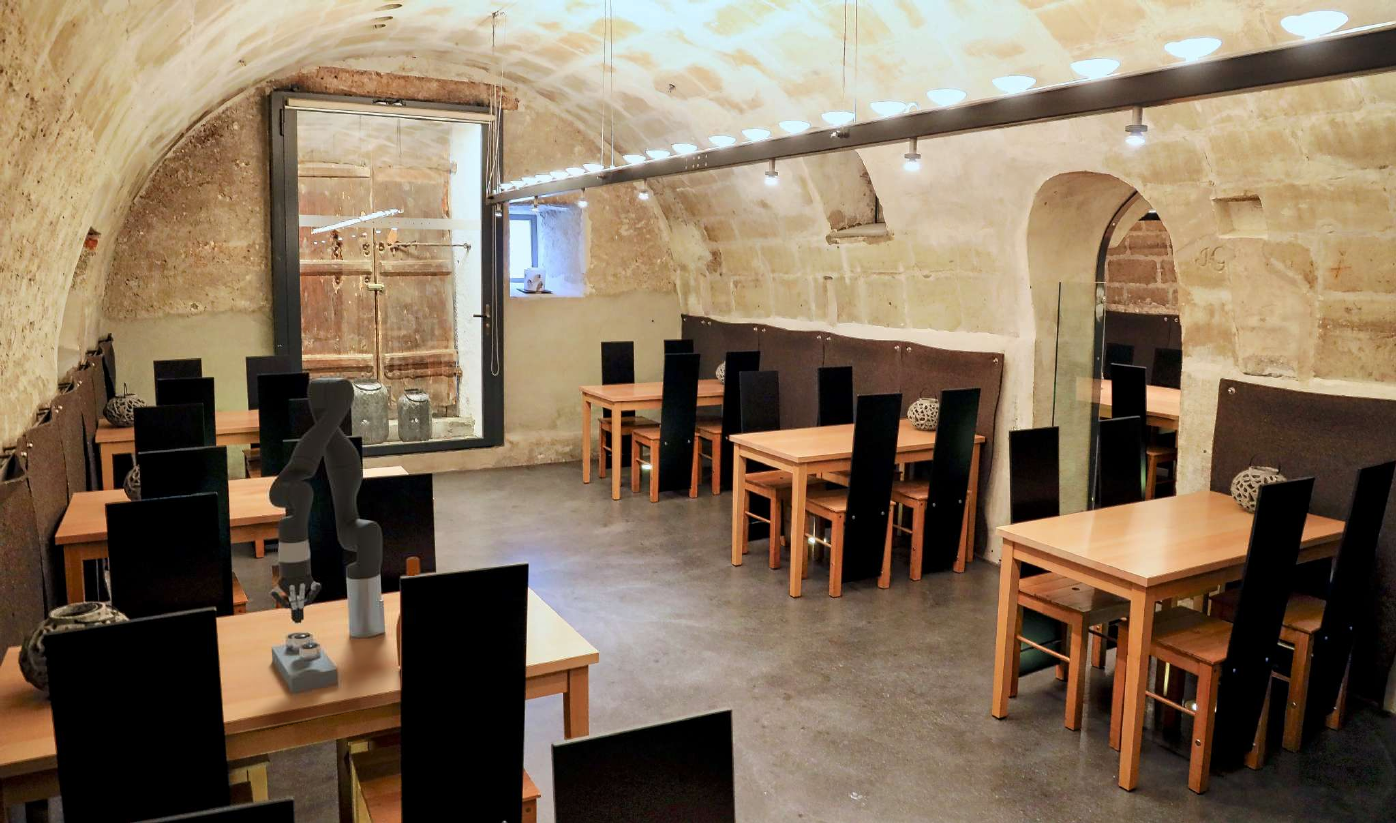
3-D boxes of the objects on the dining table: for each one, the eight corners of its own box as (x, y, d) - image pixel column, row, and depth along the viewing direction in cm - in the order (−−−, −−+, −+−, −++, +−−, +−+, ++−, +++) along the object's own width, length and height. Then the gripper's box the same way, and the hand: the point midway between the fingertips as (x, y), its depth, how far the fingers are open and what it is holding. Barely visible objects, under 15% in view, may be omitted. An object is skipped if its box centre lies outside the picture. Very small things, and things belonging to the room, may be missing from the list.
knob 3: (318, 652, 263) (317, 640, 262) (323, 658, 259) (322, 646, 258) (297, 656, 260) (297, 644, 260) (302, 663, 256) (301, 650, 256)
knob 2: (310, 642, 270) (310, 630, 269) (315, 648, 266) (314, 636, 265) (290, 646, 267) (289, 634, 267) (294, 652, 263) (294, 640, 263)
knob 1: (304, 642, 277) (303, 630, 277) (308, 647, 273) (307, 636, 273) (284, 645, 275) (283, 634, 274) (288, 651, 271) (287, 640, 270)
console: (315, 652, 281) (314, 638, 280) (338, 683, 260) (337, 668, 259) (272, 661, 275) (271, 647, 274) (292, 693, 254) (291, 678, 254)
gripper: (318, 550, 270) (321, 614, 273) (264, 557, 264) (267, 622, 266) (324, 557, 264) (327, 622, 266) (269, 564, 257) (272, 631, 259)
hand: (297, 622), depth 266 cm, fingers closed
